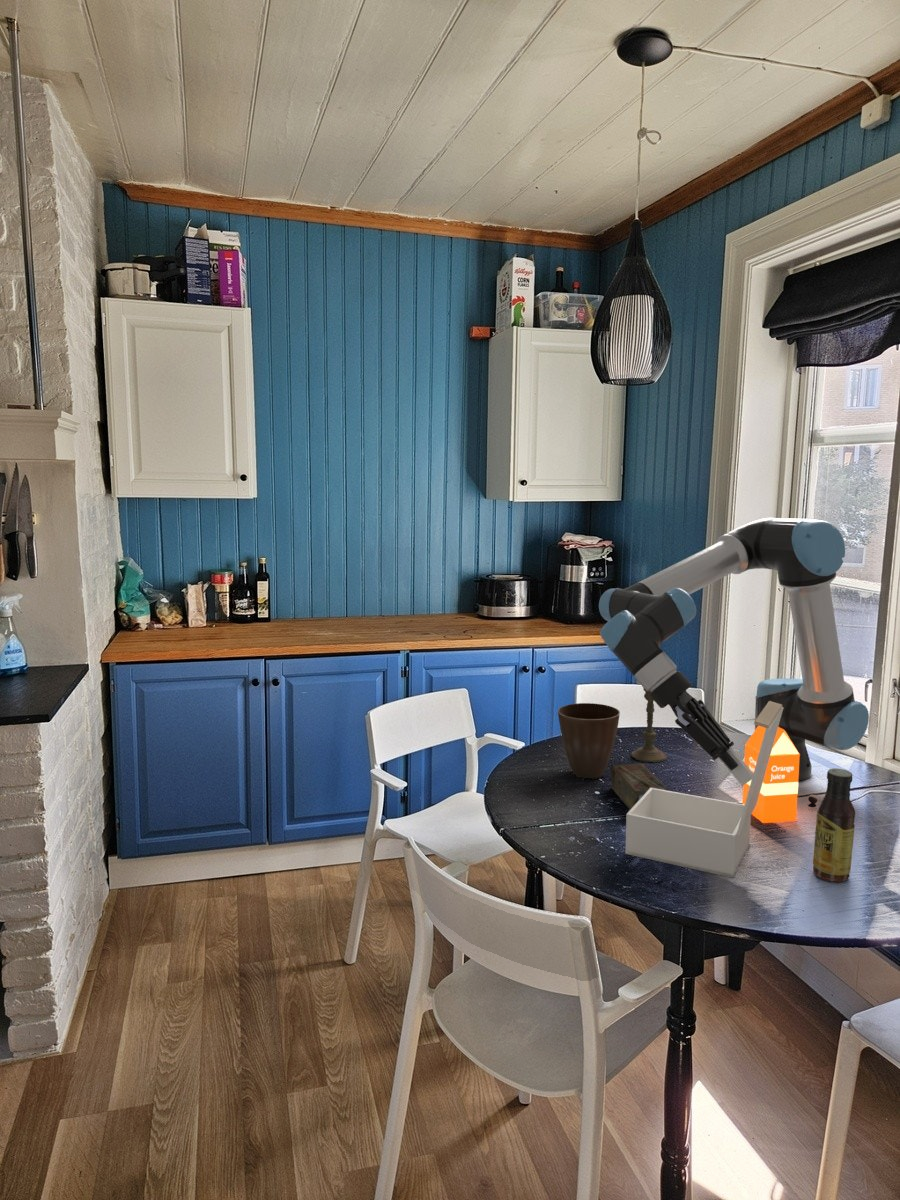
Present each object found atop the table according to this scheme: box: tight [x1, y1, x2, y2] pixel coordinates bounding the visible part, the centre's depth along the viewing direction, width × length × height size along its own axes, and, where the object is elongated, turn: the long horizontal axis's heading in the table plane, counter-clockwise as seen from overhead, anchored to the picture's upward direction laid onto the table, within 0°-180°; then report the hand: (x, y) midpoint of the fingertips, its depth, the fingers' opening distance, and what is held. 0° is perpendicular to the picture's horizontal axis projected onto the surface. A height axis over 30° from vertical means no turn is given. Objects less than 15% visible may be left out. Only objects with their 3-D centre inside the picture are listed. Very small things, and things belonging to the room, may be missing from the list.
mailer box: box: [624, 788, 752, 879], centre depth 159 cm, size 20×16×8 cm
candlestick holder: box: [630, 687, 668, 764], centre depth 211 cm, size 9×9×30 cm
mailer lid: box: [737, 701, 784, 836], centre depth 151 cm, size 21×17×3 cm
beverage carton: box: [610, 762, 670, 811], centre depth 182 cm, size 8×19×7 cm, turn 7°
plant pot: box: [557, 702, 621, 780], centre depth 200 cm, size 15×15×16 cm
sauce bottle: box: [812, 767, 856, 883], centre depth 146 cm, size 7×6×20 cm
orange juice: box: [742, 726, 800, 824], centre depth 175 cm, size 8×9×20 cm
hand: (748, 780), depth 151 cm, fingers closed
